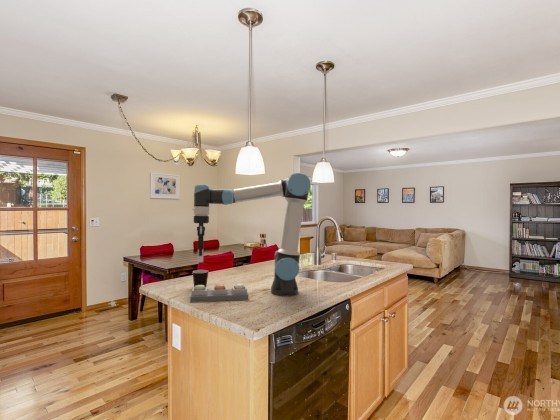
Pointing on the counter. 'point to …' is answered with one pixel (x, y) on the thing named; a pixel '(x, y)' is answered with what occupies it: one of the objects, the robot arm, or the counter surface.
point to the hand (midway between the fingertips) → (200, 261)
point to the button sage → (199, 287)
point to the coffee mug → (200, 277)
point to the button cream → (239, 286)
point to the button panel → (219, 294)
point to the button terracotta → (219, 287)
